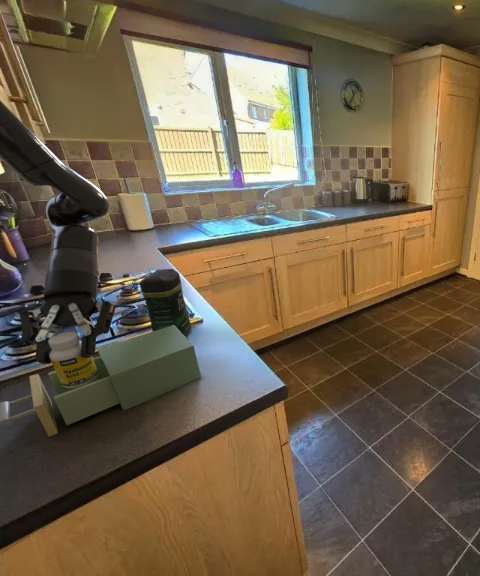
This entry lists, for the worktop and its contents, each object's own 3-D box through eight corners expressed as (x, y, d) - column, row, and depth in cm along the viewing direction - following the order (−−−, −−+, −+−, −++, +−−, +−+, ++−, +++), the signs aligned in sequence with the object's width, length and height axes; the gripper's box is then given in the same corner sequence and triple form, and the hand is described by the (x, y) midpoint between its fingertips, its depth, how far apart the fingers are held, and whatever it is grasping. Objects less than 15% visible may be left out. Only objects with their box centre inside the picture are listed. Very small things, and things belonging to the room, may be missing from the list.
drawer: (10, 453, 55) (-8, 423, 52) (8, 416, 62) (-8, 388, 59) (139, 398, 67) (130, 371, 64) (125, 373, 74) (116, 347, 71)
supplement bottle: (68, 393, 60) (47, 349, 56) (58, 382, 63) (37, 339, 59) (104, 377, 64) (86, 335, 60) (93, 367, 67) (75, 326, 63)
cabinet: (123, 411, 65) (110, 376, 61) (109, 381, 73) (97, 348, 69) (201, 377, 75) (193, 345, 71) (181, 354, 83) (174, 324, 79)
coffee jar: (184, 343, 87) (168, 279, 79) (151, 346, 85) (131, 280, 78) (196, 325, 95) (182, 265, 88) (166, 327, 94) (149, 266, 86)
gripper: (11, 271, 59) (-3, 364, 54) (107, 264, 64) (103, 349, 59) (39, 287, 66) (29, 370, 61) (124, 279, 71) (122, 356, 65)
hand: (65, 359), depth 60 cm, fingers closed on supplement bottle, 5 cm apart
